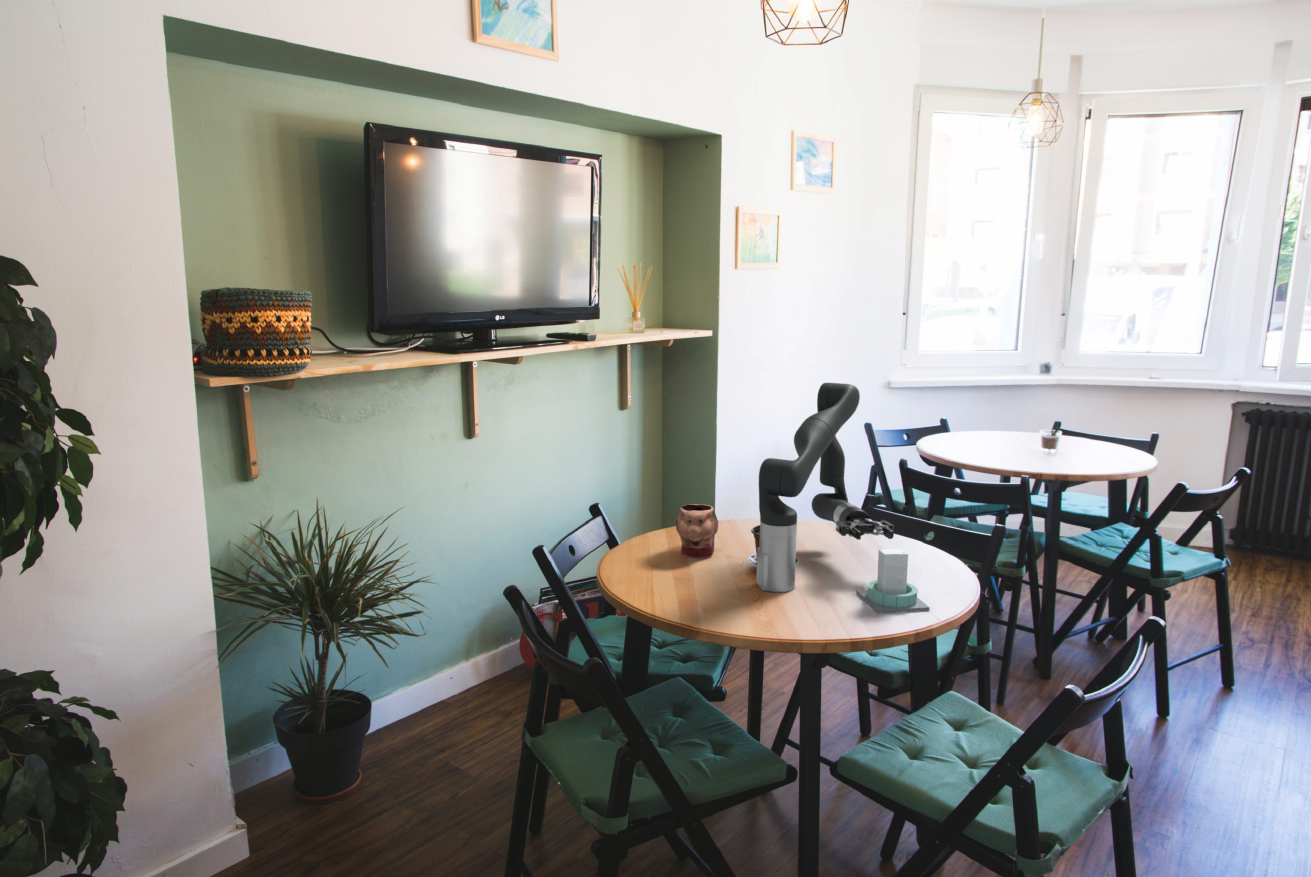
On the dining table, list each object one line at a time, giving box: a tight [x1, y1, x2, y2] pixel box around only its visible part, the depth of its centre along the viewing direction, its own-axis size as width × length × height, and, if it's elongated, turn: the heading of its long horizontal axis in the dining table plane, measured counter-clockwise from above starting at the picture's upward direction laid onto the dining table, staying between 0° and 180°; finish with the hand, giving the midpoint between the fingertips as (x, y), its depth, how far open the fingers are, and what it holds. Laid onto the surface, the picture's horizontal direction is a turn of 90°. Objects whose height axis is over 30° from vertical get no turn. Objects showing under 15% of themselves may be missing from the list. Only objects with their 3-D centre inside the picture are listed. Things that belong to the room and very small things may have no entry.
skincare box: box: [876, 548, 909, 595], centre depth 195 cm, size 6×4×12 cm
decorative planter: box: [675, 503, 719, 559], centre depth 232 cm, size 20×12×14 cm, turn 179°
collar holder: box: [855, 579, 931, 614], centre depth 196 cm, size 13×13×4 cm
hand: (875, 535), depth 204 cm, fingers open, 8 cm apart
